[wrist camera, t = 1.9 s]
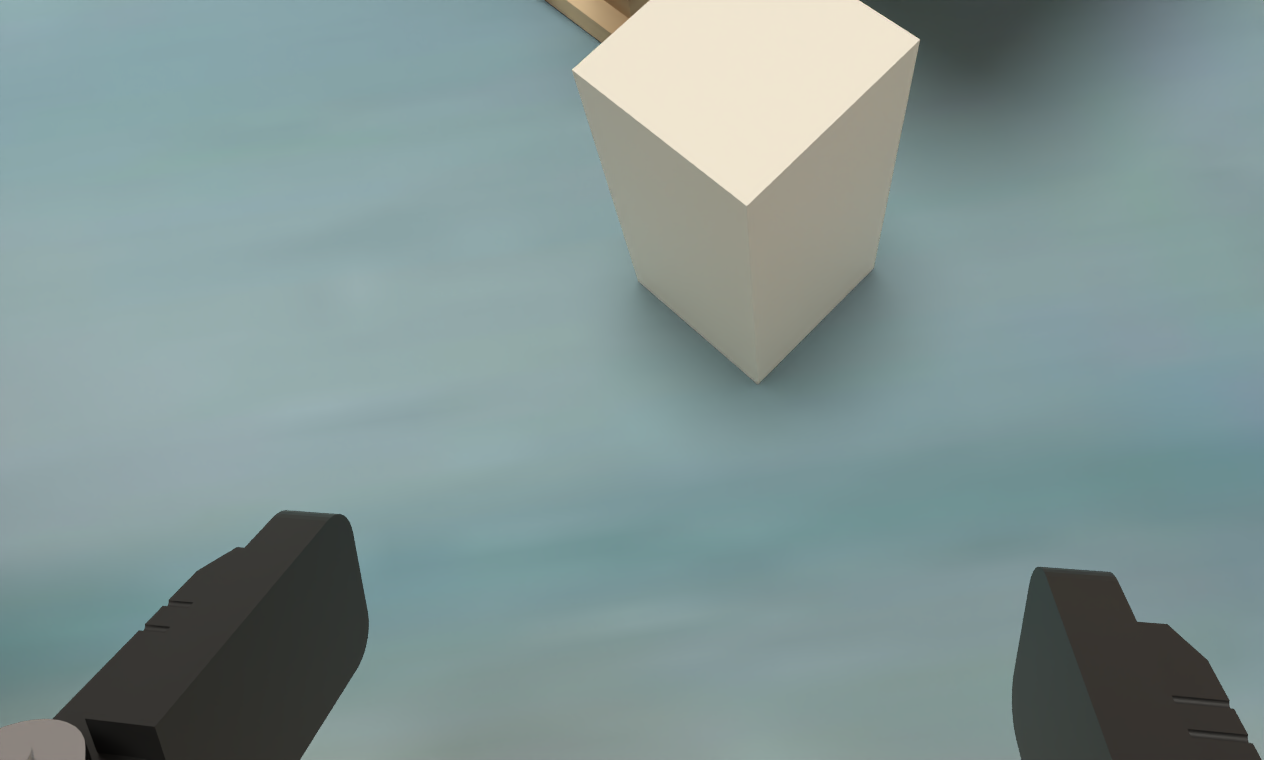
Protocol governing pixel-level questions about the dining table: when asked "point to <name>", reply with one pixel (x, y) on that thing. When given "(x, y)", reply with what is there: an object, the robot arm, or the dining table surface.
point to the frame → (598, 14)
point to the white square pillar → (750, 158)
